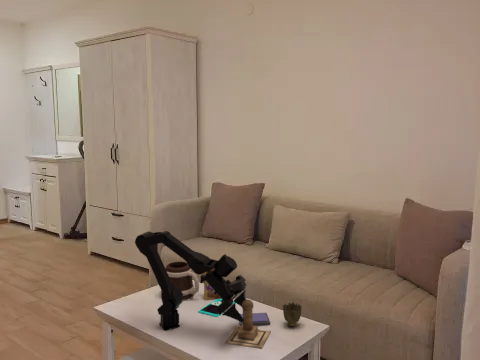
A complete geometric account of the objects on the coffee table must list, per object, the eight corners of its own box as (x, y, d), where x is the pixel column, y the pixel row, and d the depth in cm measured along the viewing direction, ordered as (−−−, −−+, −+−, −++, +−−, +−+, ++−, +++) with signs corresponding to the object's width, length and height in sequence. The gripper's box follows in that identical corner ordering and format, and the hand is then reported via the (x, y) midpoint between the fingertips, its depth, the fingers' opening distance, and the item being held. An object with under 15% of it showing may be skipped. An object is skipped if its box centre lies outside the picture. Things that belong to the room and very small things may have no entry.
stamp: (237, 338, 158) (237, 302, 157) (242, 331, 164) (242, 295, 162) (253, 341, 157) (253, 304, 155) (257, 333, 162) (257, 297, 160)
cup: (289, 331, 165) (289, 311, 164) (279, 323, 171) (279, 304, 170) (305, 327, 168) (305, 307, 167) (294, 319, 175) (294, 300, 174)
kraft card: (225, 343, 156) (225, 341, 156) (236, 327, 169) (236, 325, 168) (262, 348, 152) (262, 347, 152) (270, 332, 164) (270, 330, 164)
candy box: (205, 300, 195) (204, 268, 193) (204, 297, 199) (203, 265, 197) (224, 298, 197) (224, 266, 195) (222, 295, 201) (222, 263, 199)
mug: (155, 297, 199) (154, 266, 197) (178, 287, 212) (177, 258, 210) (187, 307, 188) (187, 274, 186) (209, 295, 200) (208, 265, 198)
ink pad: (240, 326, 169) (240, 323, 169) (238, 316, 178) (238, 313, 178) (270, 325, 170) (270, 321, 170) (266, 315, 179) (266, 311, 179)
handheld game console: (236, 304, 191) (236, 301, 191) (217, 318, 178) (217, 315, 177) (217, 300, 196) (217, 297, 196) (197, 313, 182) (197, 310, 182)
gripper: (224, 279, 150) (254, 313, 148) (240, 263, 168) (267, 293, 166) (203, 298, 154) (233, 331, 152) (222, 280, 171) (248, 310, 169)
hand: (246, 315), depth 159 cm, fingers open, 9 cm apart
